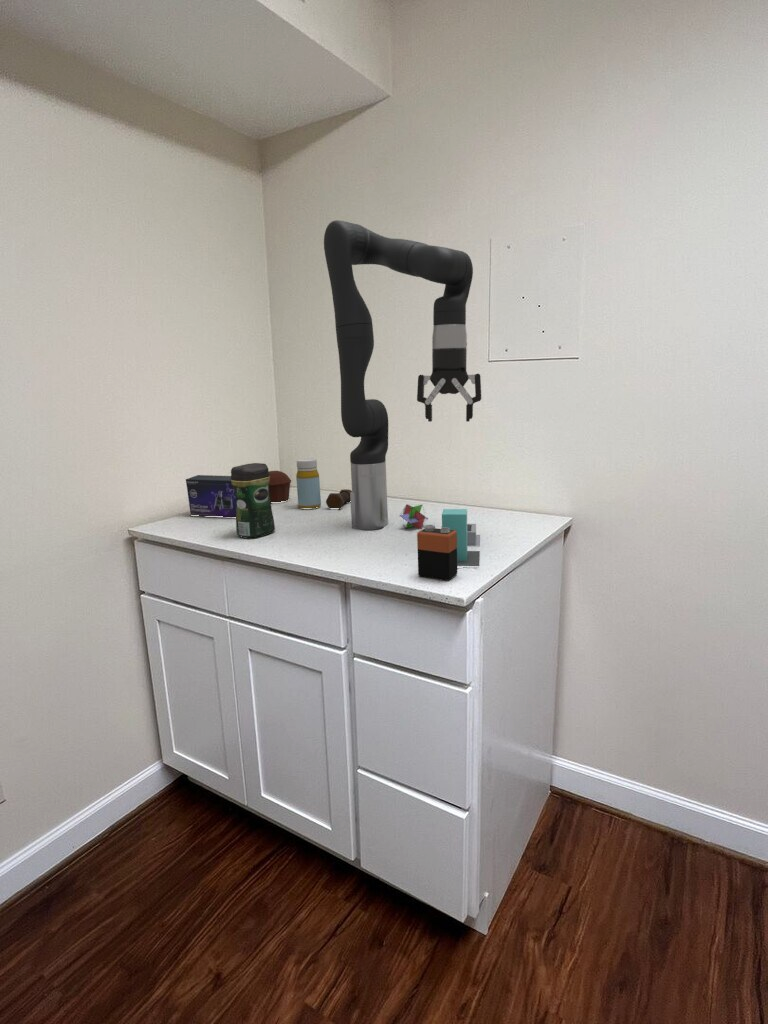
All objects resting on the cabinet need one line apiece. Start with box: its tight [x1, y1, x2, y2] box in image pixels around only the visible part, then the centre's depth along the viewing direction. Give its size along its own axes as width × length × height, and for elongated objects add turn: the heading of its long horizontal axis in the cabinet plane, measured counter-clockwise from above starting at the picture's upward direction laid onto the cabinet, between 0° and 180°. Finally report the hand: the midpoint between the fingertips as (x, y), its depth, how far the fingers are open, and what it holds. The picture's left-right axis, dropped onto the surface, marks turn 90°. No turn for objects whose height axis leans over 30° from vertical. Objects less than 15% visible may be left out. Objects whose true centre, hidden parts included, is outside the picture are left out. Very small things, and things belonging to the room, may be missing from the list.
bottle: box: [295, 458, 322, 509], centre depth 180 cm, size 7×7×15 cm
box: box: [185, 474, 236, 517], centre depth 174 cm, size 17×7×12 cm, turn 72°
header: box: [440, 523, 481, 548], centre depth 136 cm, size 10×10×4 cm
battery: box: [416, 524, 458, 581], centre depth 113 cm, size 4×7×10 cm, turn 59°
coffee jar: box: [230, 462, 276, 538], centre depth 149 cm, size 10×8×19 cm
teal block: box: [441, 508, 468, 561], centre depth 122 cm, size 5×5×10 cm
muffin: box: [268, 470, 292, 502], centre depth 192 cm, size 12×11×10 cm
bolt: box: [325, 488, 352, 509], centre depth 183 cm, size 6×5×15 cm
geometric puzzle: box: [399, 503, 429, 530], centre depth 149 cm, size 7×7×8 cm
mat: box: [457, 550, 481, 569], centre depth 123 cm, size 10×10×1 cm
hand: (449, 421), depth 131 cm, fingers open, 8 cm apart
